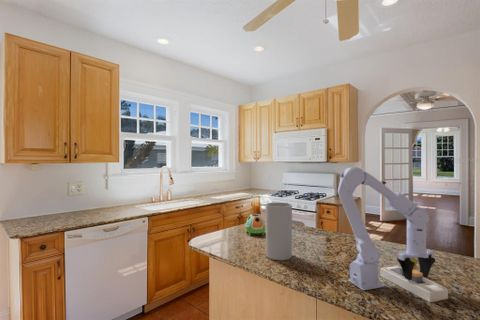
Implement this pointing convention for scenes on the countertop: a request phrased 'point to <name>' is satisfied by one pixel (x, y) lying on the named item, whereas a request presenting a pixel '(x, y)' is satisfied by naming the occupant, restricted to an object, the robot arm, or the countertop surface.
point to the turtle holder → (255, 224)
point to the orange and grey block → (417, 276)
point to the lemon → (414, 262)
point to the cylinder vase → (279, 231)
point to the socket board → (416, 285)
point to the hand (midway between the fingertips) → (416, 277)
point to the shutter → (398, 271)
